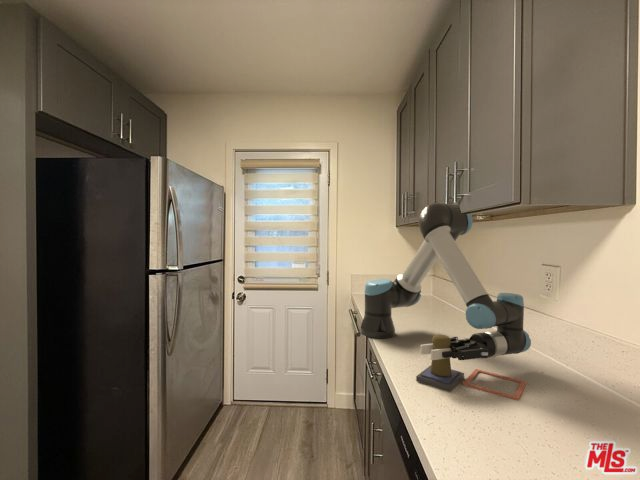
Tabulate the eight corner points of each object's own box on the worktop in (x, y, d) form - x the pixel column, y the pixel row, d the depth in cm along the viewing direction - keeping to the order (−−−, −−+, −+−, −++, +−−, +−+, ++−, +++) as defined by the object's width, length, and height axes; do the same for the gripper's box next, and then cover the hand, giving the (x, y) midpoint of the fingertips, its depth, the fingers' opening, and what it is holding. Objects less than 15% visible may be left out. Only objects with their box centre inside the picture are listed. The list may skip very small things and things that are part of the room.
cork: (453, 377, 95) (454, 339, 95) (431, 375, 96) (432, 337, 96) (449, 369, 101) (450, 333, 101) (429, 367, 102) (429, 331, 102)
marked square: (475, 370, 107) (475, 368, 107) (526, 382, 98) (526, 381, 98) (462, 384, 96) (462, 383, 96) (518, 400, 87) (518, 398, 87)
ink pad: (431, 369, 107) (431, 362, 107) (464, 378, 100) (464, 371, 100) (416, 381, 97) (416, 374, 97) (450, 391, 91) (451, 384, 91)
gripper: (510, 366, 97) (446, 376, 89) (466, 347, 113) (408, 355, 105) (511, 340, 97) (447, 348, 89) (466, 325, 113) (408, 331, 105)
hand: (426, 352), depth 97 cm, fingers closed on cork, 4 cm apart
